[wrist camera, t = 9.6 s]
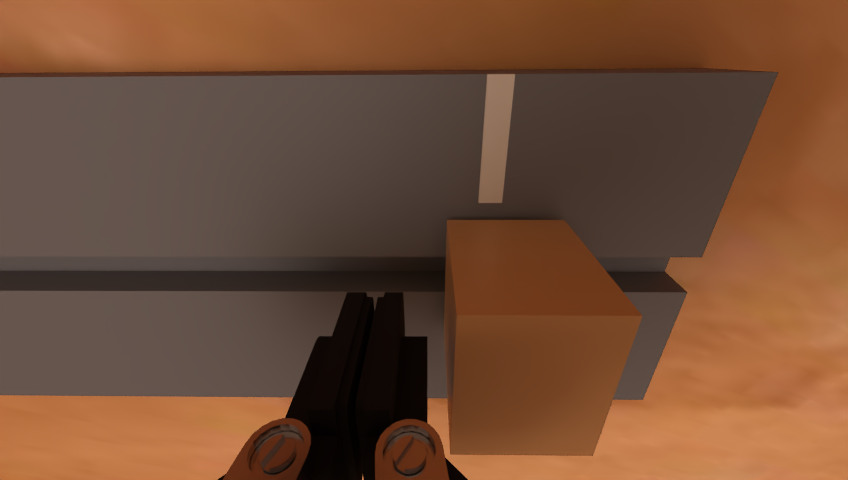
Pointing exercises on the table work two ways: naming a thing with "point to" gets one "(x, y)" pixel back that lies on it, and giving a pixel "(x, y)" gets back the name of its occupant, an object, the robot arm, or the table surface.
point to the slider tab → (530, 339)
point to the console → (329, 208)
